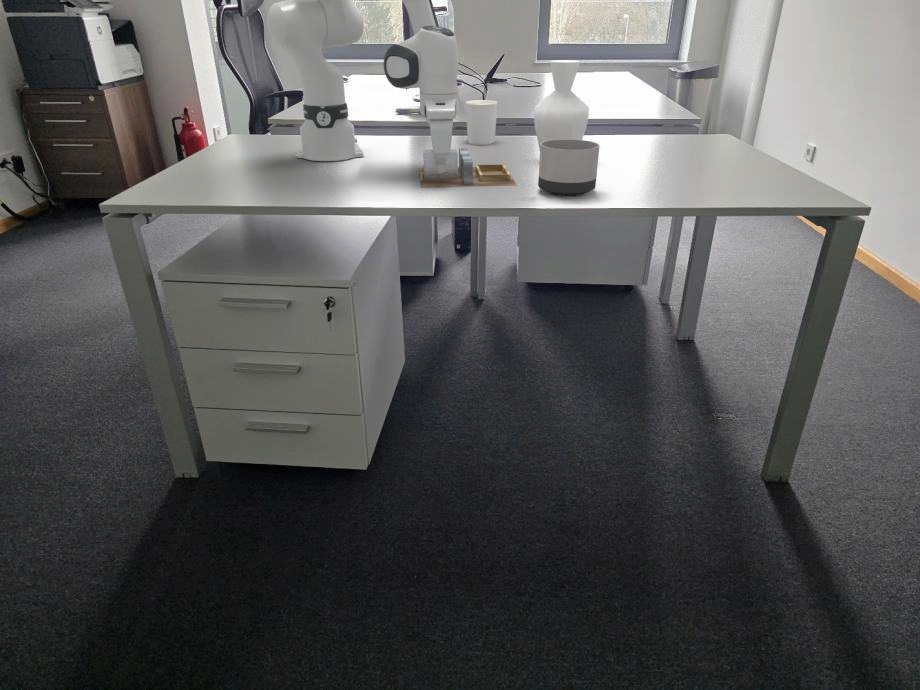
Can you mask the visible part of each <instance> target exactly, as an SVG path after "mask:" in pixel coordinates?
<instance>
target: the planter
mask: <svg viewBox="0 0 920 690" xmlns="http://www.w3.org/2000/svg"><path fill="white" fill-rule="evenodd" d="M600 148H601V147H600V144H599V143H597V142H595V141H590V140H585V139H584V140H583V139H582V140H575V139H557V140H548V141H544V142H542V143H541V144H540V150H539V163H538V164H539V166H538V181H537V186H538V188H539V189H540V190H543V191H544V192H546V193H547V194H549V195H552V196H557V197H566V198H567V197H568V198H569V197H571V198H572V197H579V196H582V195H586V194H588V193H589V192H593V191H594V190H596V185H597V175H598V165H599V156H600V155H599V154H600Z"/></svg>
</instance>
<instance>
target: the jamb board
mask: <svg viewBox="0 0 920 690" xmlns="http://www.w3.org/2000/svg"><path fill="white" fill-rule="evenodd" d="M474 165H475V166H474ZM419 184H420V188H458V187H459V188H460V187H462V188H465V187H466V188H467V187H470V188H471V187H506V186H507V187H510V186H511V187H512V186H513V187H514V186H515V187H516V186H518V184H517V183H516V181H515V180H514V178H513V177H512V175H511V173H510V172H509V170H508V167H507V166H506V164H505V163H495V164H494V163H491V164H474V161H473V160H472V157H471V155H470V152H469V149H468V148H466V147H465V148H464V147H463V148H462V147H461V148H458V178H447V179H424V167H419Z"/></svg>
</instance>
